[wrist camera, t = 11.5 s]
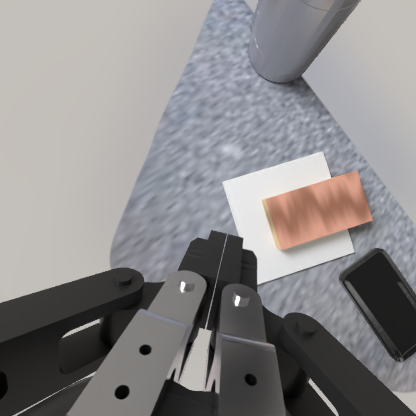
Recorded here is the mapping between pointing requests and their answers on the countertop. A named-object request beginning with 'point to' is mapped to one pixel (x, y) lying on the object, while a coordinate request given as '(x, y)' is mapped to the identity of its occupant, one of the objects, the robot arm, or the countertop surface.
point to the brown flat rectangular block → (317, 210)
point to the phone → (383, 301)
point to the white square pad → (259, 227)
